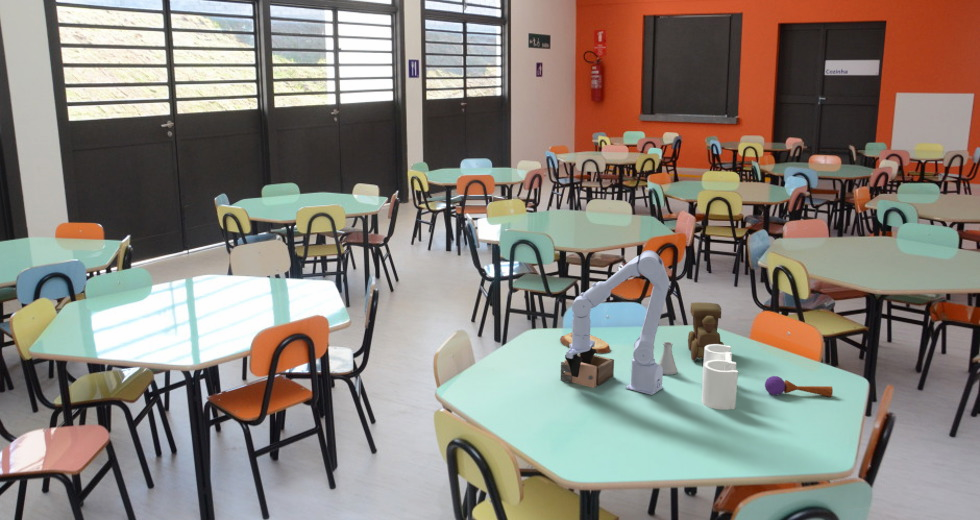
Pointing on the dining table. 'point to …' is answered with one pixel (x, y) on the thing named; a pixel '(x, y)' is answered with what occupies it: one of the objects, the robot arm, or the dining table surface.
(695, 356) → the wooden toy train
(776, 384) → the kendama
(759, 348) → the dining table surface
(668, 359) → the flask
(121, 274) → the dining table surface
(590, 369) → the door
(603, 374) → the cabinet
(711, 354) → the bracket
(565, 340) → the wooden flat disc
